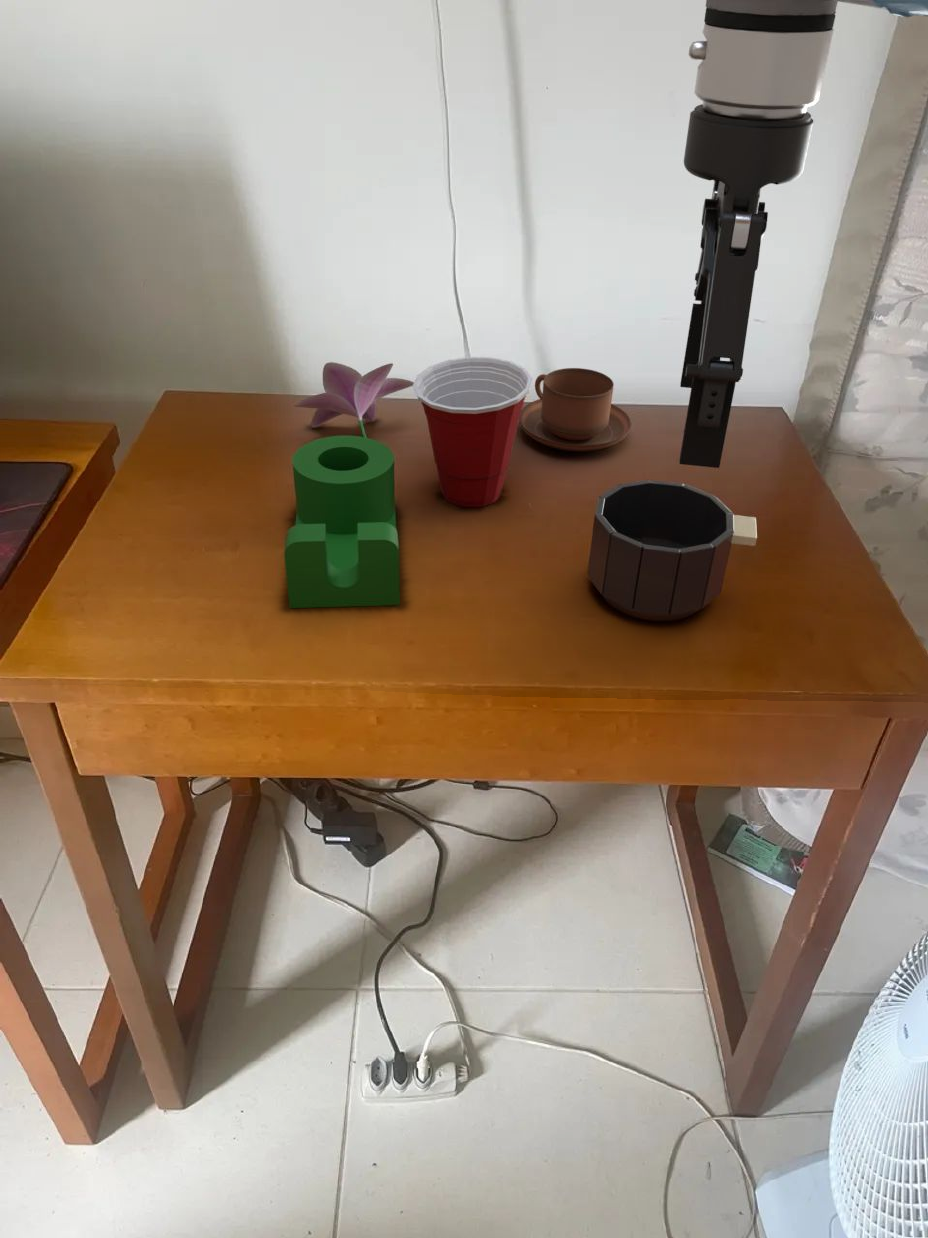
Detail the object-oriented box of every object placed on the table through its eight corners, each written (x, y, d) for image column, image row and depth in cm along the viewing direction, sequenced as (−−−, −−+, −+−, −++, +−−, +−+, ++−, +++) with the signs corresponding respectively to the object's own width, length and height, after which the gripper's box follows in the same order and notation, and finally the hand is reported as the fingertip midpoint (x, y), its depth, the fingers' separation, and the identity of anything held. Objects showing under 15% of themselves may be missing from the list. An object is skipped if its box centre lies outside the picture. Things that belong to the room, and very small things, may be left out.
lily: (432, 437, 108) (409, 349, 106) (412, 444, 96) (386, 345, 94) (330, 464, 110) (305, 378, 108) (299, 473, 98) (271, 378, 97)
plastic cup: (396, 478, 98) (394, 363, 91) (494, 458, 102) (499, 347, 94) (440, 532, 90) (442, 411, 83) (544, 508, 94) (554, 391, 87)
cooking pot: (582, 603, 79) (589, 541, 76) (595, 532, 88) (602, 473, 84) (743, 626, 77) (759, 563, 74) (740, 551, 86) (754, 491, 82)
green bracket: (300, 496, 95) (295, 436, 91) (393, 494, 95) (392, 434, 91) (289, 608, 80) (283, 541, 76) (399, 604, 81) (398, 539, 77)
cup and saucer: (498, 443, 104) (501, 389, 101) (547, 402, 113) (551, 351, 109) (602, 472, 100) (609, 416, 96) (645, 427, 108) (653, 374, 105)
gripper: (690, 75, 71) (652, 356, 84) (692, 141, 51) (641, 497, 64) (797, 80, 70) (741, 364, 83) (840, 149, 50) (759, 509, 63)
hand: (698, 422), depth 73 cm, fingers open, 13 cm apart
